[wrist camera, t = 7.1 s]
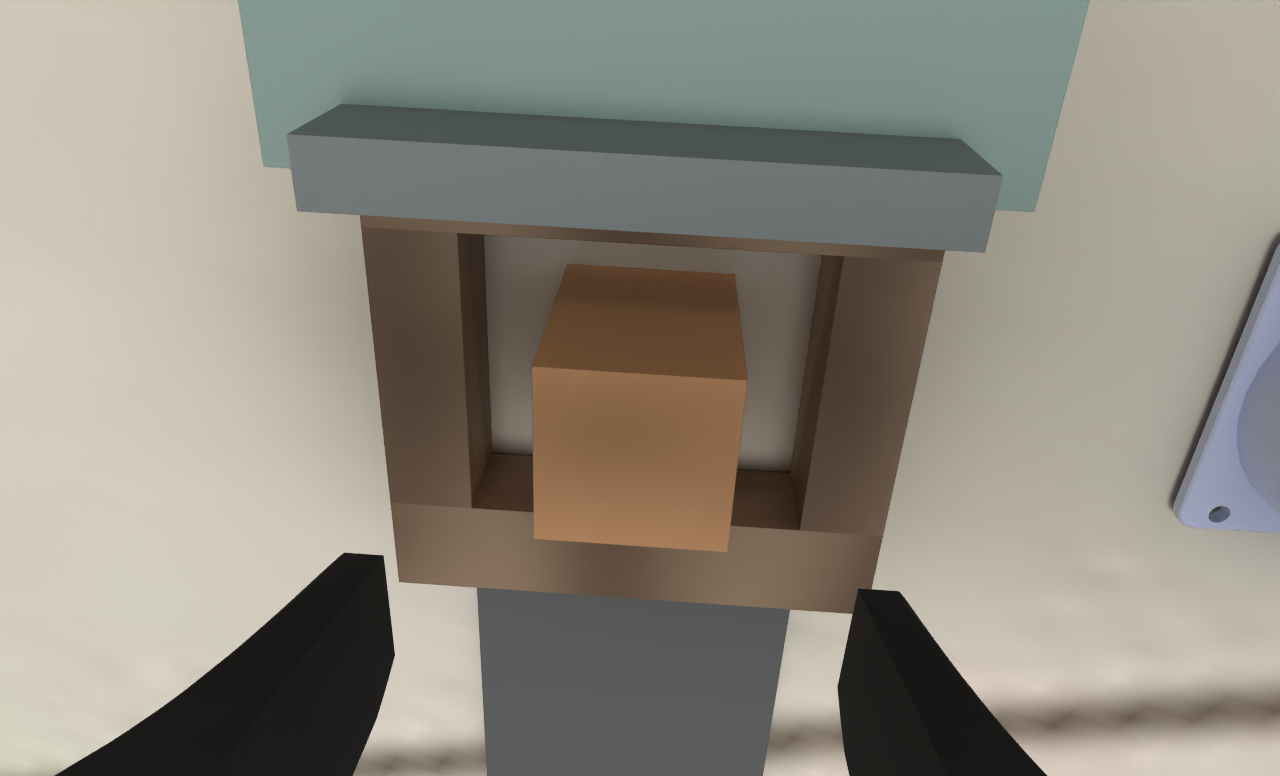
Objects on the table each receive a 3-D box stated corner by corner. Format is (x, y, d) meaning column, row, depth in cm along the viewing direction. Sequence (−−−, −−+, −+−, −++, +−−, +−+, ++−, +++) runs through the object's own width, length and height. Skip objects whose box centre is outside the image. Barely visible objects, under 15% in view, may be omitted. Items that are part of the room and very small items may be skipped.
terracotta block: (735, 274, 21) (747, 380, 17) (719, 418, 23) (726, 552, 18) (567, 263, 21) (532, 367, 17) (566, 408, 23) (534, 538, 19)
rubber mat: (792, 576, 26) (793, 586, 25) (758, 787, 30) (759, 797, 29) (479, 554, 26) (476, 563, 25) (489, 767, 30) (487, 777, 30)
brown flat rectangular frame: (1061, -518, 15) (1127, -593, 12) (850, 552, 25) (865, 614, 23) (332, -546, 15) (270, -625, 13) (424, 523, 25) (399, 582, 23)
